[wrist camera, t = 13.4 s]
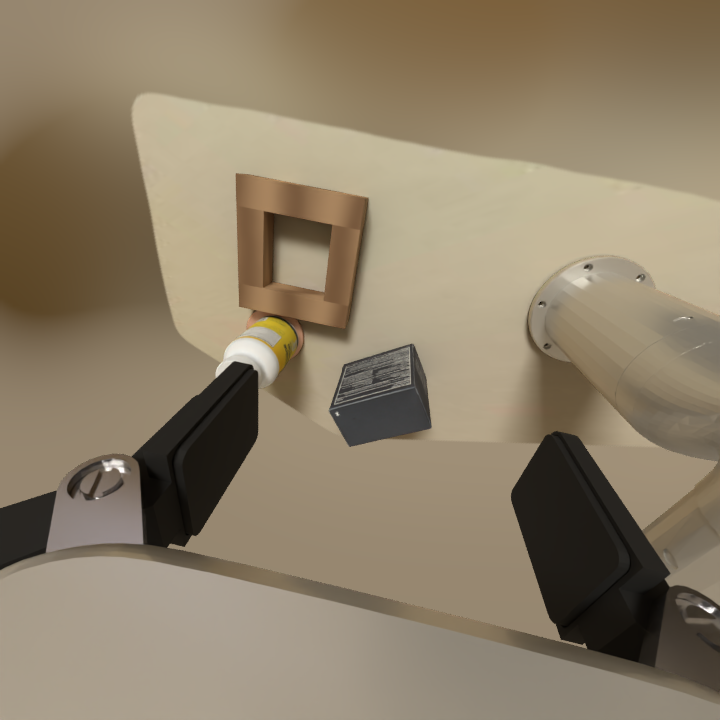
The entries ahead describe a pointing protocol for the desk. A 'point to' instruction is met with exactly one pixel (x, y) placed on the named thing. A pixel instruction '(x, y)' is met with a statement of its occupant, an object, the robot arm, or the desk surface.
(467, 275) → the desk surface
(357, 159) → the desk surface
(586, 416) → the desk surface
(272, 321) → the pill bottle
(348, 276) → the pocket holder
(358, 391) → the small box
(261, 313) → the coaster
